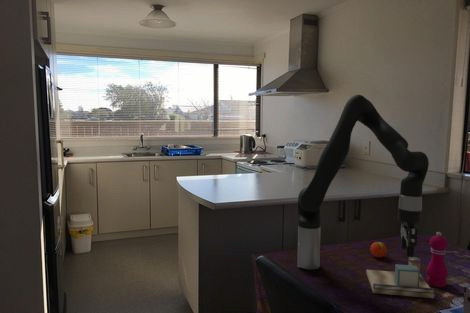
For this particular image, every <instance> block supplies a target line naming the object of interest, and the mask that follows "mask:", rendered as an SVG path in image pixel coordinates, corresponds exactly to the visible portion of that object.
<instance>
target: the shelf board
mask: <svg viewBox="0 0 470 313" xmlns="http://www.w3.org/2000/svg"><path fill="white" fill-rule="evenodd" d="M366 276H367V279H368V282H369V284H370V289H371V290H372V293H373V294H381V295H394V296H405V297H415V298H416V297H417V298H429V299H435V291H436V290H435V288H432V287H431V286H430V285H429V284H428V282H427V280H425V278H424V277H423V276H422V275H421V273H420V278H419V287H411V286H399V285H395V283H394V282H395V271H392V270H391V271H390V270H389V271H388V270H387V271H386V270H376V269H366Z"/></svg>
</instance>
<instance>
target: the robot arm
mask: <svg viewBox="0 0 470 313" xmlns="http://www.w3.org/2000/svg"><path fill="white" fill-rule="evenodd" d="M357 122H359V123H361V124H362V125H364V126H365V127H367V129H368V130H370V131H371V132H372V133H373V135H374V136H375V137H376V139H377V140H378V141H379V143H381V145H382V146H383V147H384V148H385V149H386V150H387V151H388V152H389V153H390V154H391V157H392V159H393V161H394V162H395V164H396V166H397V167H398V168H399V169H400V170H402V171H403V172H407V173H408V174H407V176H406V177H404V178H402V180H400V188H399V197H398V198H399V199H398V207H397V208H398V210H397V220H398V221H399V222H401V223H400V231H399V234H400V237H401V244H400V248H401V249H402V250H406V252H405V253H406V254H405V255H406V257H408V258H409V257H415V256H414V254H415V247H417V246H418V244H417V243H418V241H417V240H418V229H417V228H416V226H415V224H421V222H422V214H423V213H422V211H423V188H424V187H423V185H424V182H425V180H426V176H427V173H428V170H429V165H430V163H429V161H430V160H429V157H428V156H427V154H426V153H424V152H423V151H410V150H409V149H408V148H409V143H408V141H407V140H406V138H404V137H403V135H401V134H400V133H399V132H398V131H397V129H395V128H394V127H392V126H391V125H390V124H389V123H388V122H387V121H386V120H385V119H384V118H383V117H382V116H381V115H380V113H379V112H378V110H377V109H376V107H375V106H374V104H373V103H372V101H370V100H369V99H368V98H366V97H365V96H364V95H361V94H355V95H352V96H350V98H349V99H347V101H346V102H345V105H344V107H343V110H342V112H341V114H340V117H339V119H338V121H337V125H336V126H335V128H334V130H333V131H332V133H331V136H330V138H329V140H328V142H327V143H326V145H325V147H324V149H323V150H322V153H321V155H320V156H319V159H318V162H317V166H316V169H315V172H314V175H313V177H312V179H311V181H310V182H309V184H308V186H307V187H303V189H301V190H300V191H299V194H298V196H297V225H298V226H297V228H298V229H297V258H296V259H297V260H296V261H297V263H296V264H297V265H296V267H297V268H301V269H304V270H317V269H319V268H320V265H321V264H320V263H321V261H320V256H321V222H322V221H321V207H322V204H323V202H324V199H325V197H326V194H327V193H328V189H329V187H330V186H331V184H332V182H333V180H334V179H335V177H336V175H338V172H339V171H340V169H341V167H342V166H343V164H344V162H345V160H346V159H347V156H348V154H349V152H350V148H351V146H350V145H351V139H352V132H353V129H354V127H355V126H356V123H357Z"/></svg>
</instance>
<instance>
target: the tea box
mask: <svg viewBox="0 0 470 313" xmlns="http://www.w3.org/2000/svg"><path fill="white" fill-rule="evenodd" d="M394 272H395V282H394V283H395V285H399V286H411V287H419V278H420V274H421V273H420V272H421V269H420V270H419V269H418V268H417V266H412V265H409V264H395V266H394Z"/></svg>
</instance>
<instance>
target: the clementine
mask: <svg viewBox="0 0 470 313" xmlns="http://www.w3.org/2000/svg"><path fill="white" fill-rule="evenodd" d="M387 251H388V250H387V246H386V245H385V244H384V243H383V242H381V241H375V242H373V243H372V244H371V246H370V252H371V254H372V256H374V257H375V258H383V257H384V256H386V255H387Z"/></svg>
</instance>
